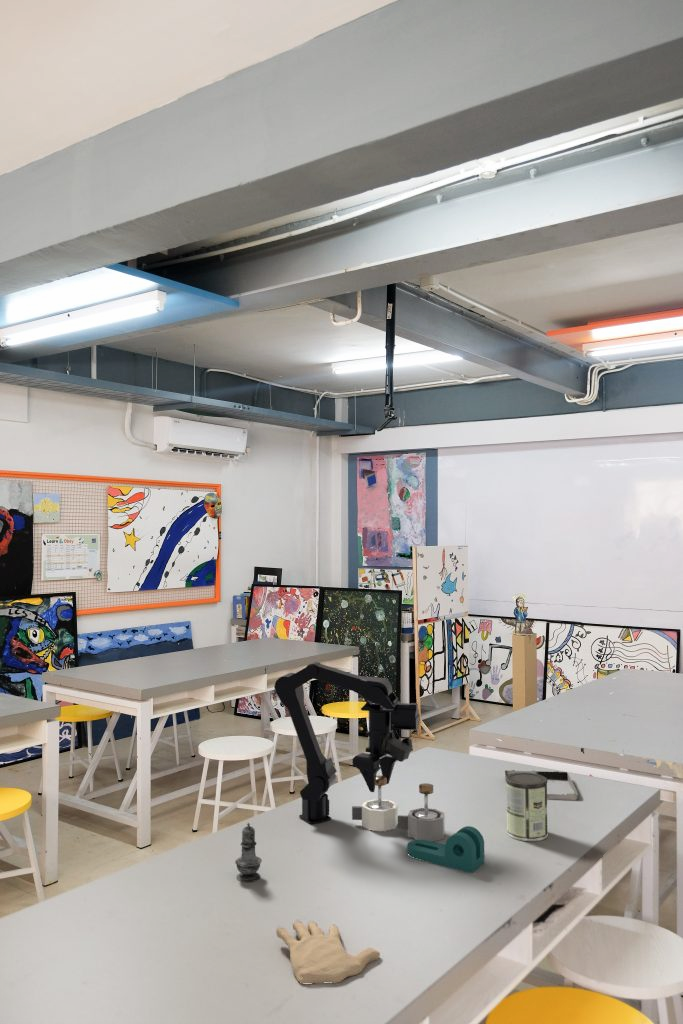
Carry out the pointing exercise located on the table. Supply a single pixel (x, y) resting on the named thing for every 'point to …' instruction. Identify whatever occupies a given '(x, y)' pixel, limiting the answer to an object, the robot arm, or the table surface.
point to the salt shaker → (248, 857)
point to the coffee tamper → (426, 802)
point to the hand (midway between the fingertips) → (379, 787)
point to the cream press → (376, 816)
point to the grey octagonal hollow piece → (423, 825)
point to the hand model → (322, 954)
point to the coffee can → (526, 806)
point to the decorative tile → (553, 776)
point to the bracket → (452, 850)
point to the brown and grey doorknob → (380, 805)
